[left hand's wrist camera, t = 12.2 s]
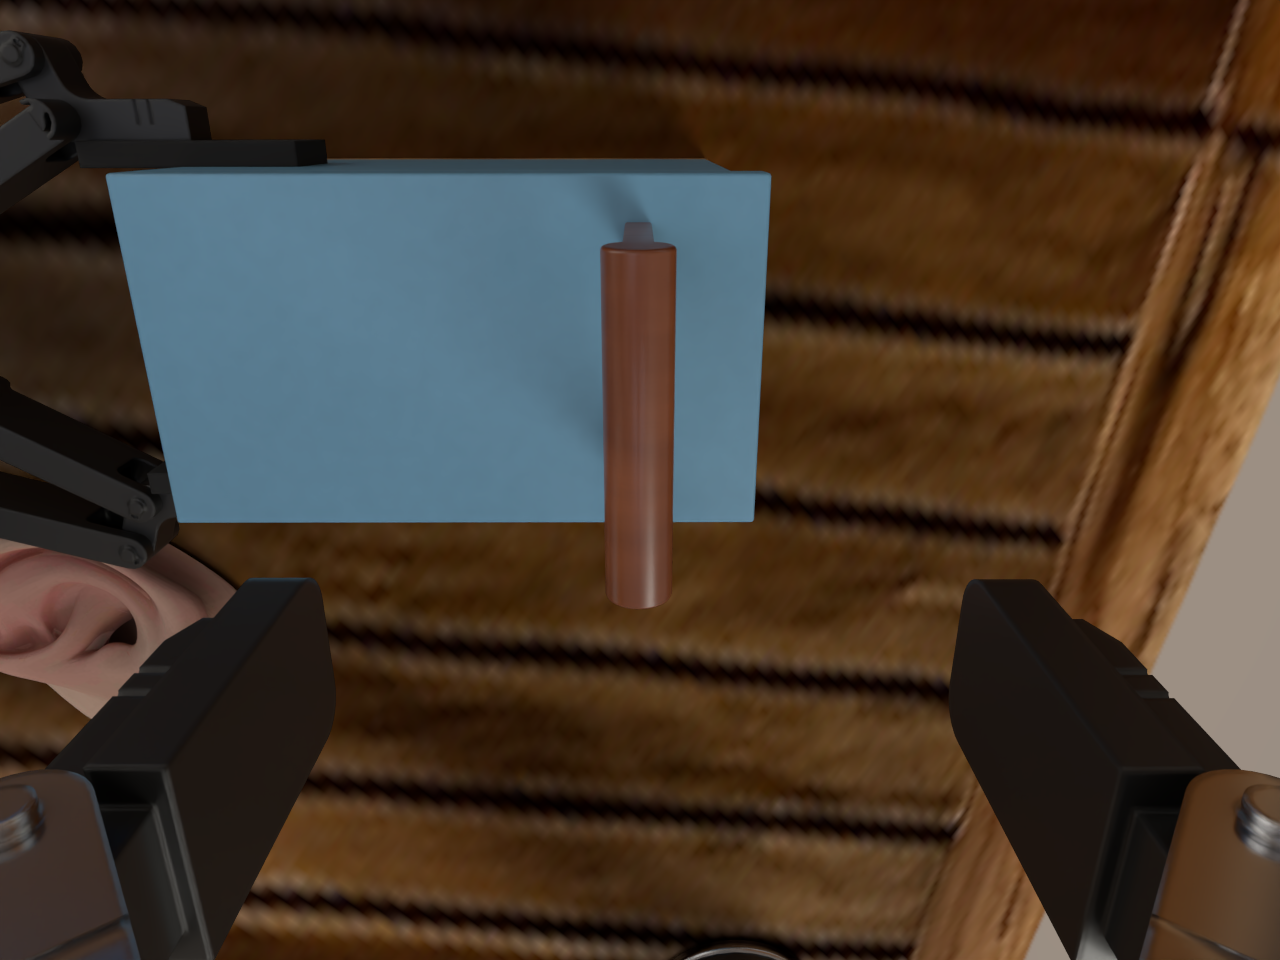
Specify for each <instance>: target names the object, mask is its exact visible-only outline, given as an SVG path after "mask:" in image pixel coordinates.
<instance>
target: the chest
mask: <svg viewBox="0 0 1280 960" xmlns="http://www.w3.org/2000/svg"><path fill="white" fill-rule="evenodd" d="M327 162H328V164H319V165H310V166H301V167H176V168H164V169H152V170H140V171H729V170H727V169H725V168H723V167H721V166H719V165H716V164H714V163H712V162H710V161H708V160H707V159H706V158H327Z"/></svg>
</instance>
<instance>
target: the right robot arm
mask: <svg viewBox="0 0 1280 960" xmlns="http://www.w3.org/2000/svg"><path fill="white" fill-rule="evenodd" d="M82 64H83V62H82V58H81V54H80V53H79V51H78V50H77V48H76V47H75V46H74V45H73V44H72V43H70V42H69V41H67V40H64V39H61V38H55V37H48V36H42V35H36V34H29V33H23V32H16V31H1V32H0V104H1V103H4V102H7V101H10V100H13V99H16V98H19V97H22V96H26V98H25V99H22V100H20V103H21V104H24V105H30V106H29V107H27V108H26V109H25V110H23V111H22V112H20V113H19V114H18V115H16V116H15V117H13V118H12V119H11V120H9V121H8V122H6V123H5V124H4V125H2V126H1V127H0V214H1V213H3V212H4V211H6V210H7V209H9V208H10V207H12V206H13V205H14V204H16V203H17V202H19V201H20V200H22V199H23V198H25V197H26V196H27V195H29V194H30V193H32V192H33V191H35V190H36V189H38V188H39V187H40V186H42V185H43V184H45V183H46V182H48V181H49V180H51V179H52V178H53V177H55V176H56V175H58V174H59V173H61V172H62V171H64V170H65V169H67V168H68V167H69V166H71V165H72V164H74V163H75V162H77V161H78V160H79V164H80V168H176V167H301V166H310V165H319V164H328V162H327V154H326V146H325V140H212V139H211V133H210V127H209V121H208V115H207V109H206V107H204V106H202V105H199V104H197V103H194V102H192V101H189V100H175V99H105V98H103V97H101V96H99V95H98V94H96V93H95V92H94V91H93V90H92V89H91V87H90V86H89V84H88V83H87V81H86V80H85V78H84V76H83V74H82V72H81V71H82ZM0 460H1V461H3V462H6V463H8V464H10V465H12V466H14V467H16V468H19V469H21V470H23V471H25V472H27V473H30V474H32V475H34V476H36V477H38V478H40V479H43V480H45V481H47V482H49V483H51V484H49V483H45V482H41V481H37V480H33V479H29V478H25V477H20V476H16V475H12V474H8V473H4V472H0V538H1V539H5V540H10V541H14V542H18V543H22V544H27V545H31V546H35V547H39V548H43V549H48V550H52V551H56V552H60V553H65V554H69V555H73V556H77V557H81V558H86V559H90V560H94V561H98V562H103V563H107V564H111V565H115V566H119V567H124V568H128V569H137V568H140V567H142V566H143V565H144V564H145V563H146V562H147V561H148V560H150V559H151V558H152V557H153V556H154V555H156V554H157V553H158V552H159V551H160V550H161V549H162V548H164V547H165V546H166V545H167V544H168V543H169V542H170V541H171V540H172V539H173V538H175V537H176V536H177V535H178V532H179V524H178V522H177V520H176V517H177V515H176V510H175V505H174V500H173V496H172V491H171V486H170V481H169V476H168V472H167V467H166V462H165V461H164V462H163V461H161V460H159V459H157V458H154V457H152V456H150V455H148V454H146V453H144V452H142V451H140V450H138V449H136V448H133V447H131V446H129V445H127V444H125V443H123V442H121V441H119V440H117V439H115V438H112V437H110V436H108V435H106V434H104V433H102V432H100V431H98V430H96V429H93V428H91V427H89V426H87V425H85V424H83V423H81V422H79V421H77V420H75V419H72V418H70V417H68V416H66V415H64V414H62V413H60V412H58V411H56V410H54V409H51V408H49V407H47V406H45V405H43V404H41V403H39V402H37V401H35V400H33V399H30V398H28V397H26V396H24V395H22V394H20V393H18V392H16V391H14V390H12V389H11V388H10V382H9V381H8V380H7V379H5V378H3V377H1V376H0Z"/></svg>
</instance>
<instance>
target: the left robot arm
mask: <svg viewBox="0 0 1280 960" xmlns="http://www.w3.org/2000/svg"><path fill="white" fill-rule="evenodd" d="M335 704H336V688H335V680H334V673H333V666H332V660H331V653H330V646H329V639H328V633H327V626H326V619H325V613H324V606H323V599H322V594H321V591H320V588H319V585H318V583H317V582H316V581H315V580H314V579H312V578H250V579H248V580H246V581H245V582H244V583H243V584H242V586H241V587H240V588H239V589H238V590H237V591H236V592H235V594H234V595H233V596H232V597H231V598H230V599H229V601H228V602H227V603H226V604H225V605H224V606H223V607H222V609H221V610H220V611H219V612H218V613H217V614H216V615H215V617H214V618H201V619H200V620H198V621H196V622H195V623H193V624H191V625H190V626H188V627H186V628H185V629H183V630H181V631H180V632H178V633H176V634H175V635H173V636H171V637H169V638H168V639H166V640H164V641H163V642H162V644H161V645H160V646H159V647H158V648H157V649H156V650H155V651H154V652H153V653H152V654H151V655H150V657H149V658H148V659H147V660H146V661H145V662H144V663H143V664H142V665H141V666H140V667H139V673H134V674H133V675H132V676H131V677H130V678H129V679H128V680H127V681H126V682H125V683H124V685H123V686H122V687H121V688H120V689H119V690H118V696H112V697H111V699H110V700H109V701H108V702H107V703H106V704H105V705H104V706H103V707H102V708H101V709H100V710H99V711H98V713H97V714H96V715H95V716H94V717H93V718H92V719H91V720H90V721H89V722H88V723H87V724H86V725H85V727H84V728H83V729H82V730H81V731H80V732H79V733H78V734H77V735H76V736H75V737H74V738H73V739H72V741H71V742H70V743H69V744H68V745H67V746H66V747H65V748H64V749H63V750H62V751H61V752H60V753H59V755H58V756H57V757H56V758H55V759H54V760H53V761H52V762H51V763H50V764H49V765H48V766H47V767H46V769H44V770H34V771H27V772H22V773H18V774H13V775H9V776H6V777H3V778H0V960H215V958H216V956H217V954H218V952H219V950H220V948H221V946H222V944H223V942H224V940H225V938H226V936H227V934H228V932H229V930H230V928H231V927H232V925H233V923H234V921H235V919H236V917H237V915H238V913H239V911H240V909H241V907H242V905H243V903H244V901H245V899H246V897H247V895H248V893H249V891H250V889H251V887H252V885H253V884H254V882H255V880H256V878H257V876H258V874H259V872H260V870H261V868H262V866H263V864H264V862H265V860H266V858H267V856H268V854H269V852H270V850H271V848H272V846H273V844H274V843H275V841H276V839H277V837H278V835H279V833H280V831H281V829H282V827H283V825H284V823H285V821H286V819H287V817H288V815H289V813H290V811H291V809H292V807H293V805H294V803H295V801H296V800H297V798H298V796H299V794H300V792H301V790H302V788H303V786H304V784H305V782H306V780H307V778H308V776H309V774H310V772H311V770H312V768H313V766H314V764H315V762H316V760H317V758H318V757H319V755H320V753H321V751H322V749H323V747H324V745H325V743H326V741H327V739H328V737H329V734H330V731H331V728H332V724H333V720H334V714H335ZM949 711H950V718H951V723H952V727H953V731H954V734H955V737H956V739H957V741H958V743H959V745H960V747H961V749H962V751H963V753H964V755H965V757H966V759H967V760H968V762H969V764H970V766H971V768H972V770H973V772H974V774H975V776H976V778H977V780H978V782H979V784H980V786H981V788H982V789H983V791H984V793H985V795H986V797H987V799H988V801H989V803H990V805H991V807H992V809H993V811H994V813H995V815H996V816H997V818H998V820H999V822H1000V824H1001V826H1002V828H1003V830H1004V832H1005V834H1006V836H1007V838H1008V840H1009V842H1010V843H1011V845H1012V847H1013V849H1014V851H1015V853H1016V855H1017V857H1018V859H1019V861H1020V863H1021V865H1022V867H1023V869H1024V871H1025V872H1026V874H1027V876H1028V878H1029V880H1030V882H1031V884H1032V886H1033V888H1034V890H1035V892H1036V894H1037V896H1038V898H1039V899H1040V901H1041V903H1042V905H1043V907H1044V909H1045V911H1046V913H1047V915H1048V917H1049V919H1050V921H1051V923H1052V924H1053V926H1054V928H1055V930H1056V932H1057V934H1058V936H1059V938H1060V940H1061V942H1062V944H1063V946H1064V948H1065V950H1066V952H1067V954H1068V955H1069V957H1070V959H1071V960H1280V778H1277V777H1274V776H1271V775H1267V774H1262V773H1258V772H1253V771H1245V770H1241V769H1240V768H1239V767H1238V766H1237V765H1236V764H1235V763H1234V762H1233V761H1232V760H1231V759H1230V757H1229V756H1228V755H1227V754H1226V753H1225V752H1224V751H1223V750H1222V749H1221V748H1220V747H1219V746H1218V745H1217V744H1216V743H1215V741H1214V740H1213V739H1212V738H1211V737H1210V736H1209V735H1208V734H1207V733H1206V732H1205V731H1204V730H1203V729H1202V728H1201V726H1200V725H1199V724H1198V723H1197V722H1196V721H1195V720H1194V719H1193V718H1192V717H1191V716H1190V715H1189V714H1188V713H1187V712H1186V710H1185V709H1184V708H1183V707H1182V706H1181V705H1180V704H1179V703H1178V702H1177V701H1176V700H1175V699H1174V698H1169V696H1168V691H1167V690H1166V689H1165V688H1164V687H1163V686H1162V685H1161V684H1160V683H1159V682H1158V681H1157V680H1156V678H1155V677H1154V676H1153V675H1148V674H1147V669H1146V668H1145V667H1144V666H1143V665H1142V663H1141V662H1140V661H1139V660H1138V659H1137V658H1136V657H1135V656H1134V655H1133V654H1132V653H1131V652H1130V651H1129V650H1128V649H1127V647H1126V646H1125V645H1124V644H1123V643H1122V642H1120V641H1119V640H1117V639H1115V638H1114V637H1112V636H1110V635H1108V634H1107V633H1105V632H1103V631H1102V630H1100V629H1098V628H1097V627H1095V626H1093V625H1092V624H1090V623H1088V622H1087V621H1085V620H1083V619H1072V618H1071V617H1070V616H1069V615H1068V614H1067V613H1066V612H1065V610H1064V609H1063V608H1062V607H1061V606H1060V605H1059V604H1058V602H1057V601H1056V600H1055V599H1054V598H1053V597H1052V596H1051V594H1050V593H1049V592H1048V591H1047V590H1046V589H1045V588H1044V587H1043V585H1042V584H1041V583H1040V582H1038V581H1037V580H1033V579H974V580H971V581H970V582H969V583H968V585H967V587H966V589H965V592H964V595H963V600H962V606H961V613H960V620H959V626H958V633H957V640H956V646H955V653H954V659H953V666H952V673H951V679H950V686H949ZM673 960H797V959H795V958H794V957H793V956H791V955H790V954H788V953H786V952H785V951H783V950H781V949H778V948H776V947H773V946H771V945H768V944H764V943H760V942H755V941H747V940H724V941H716V942H711V943H707V944H703V945H700V946H697V947H694V948H692V949H690V950H687V951H685V952H684V953H682V954H680V955H678V956H677V957H675V958H674V959H673Z"/></svg>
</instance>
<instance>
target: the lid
mask: <svg viewBox="0 0 1280 960" xmlns="http://www.w3.org/2000/svg"><path fill="white" fill-rule="evenodd" d="M106 180H107V185H108V190H109V195H110V199H111V204H112V209H113V214H114V218H115V223H116V228H117V233H118V238H119V242H120V247H121V252H122V257H123V261H124V266H125V271H126V276H127V281H128V285H129V290H130V295H131V300H132V304H133V309H134V314H135V319H136V324H137V328H138V333H139V338H140V343H141V347H142V352H143V357H144V362H145V367H146V371H147V376H148V381H149V386H150V390H151V395H152V400H153V405H154V410H155V414H156V419H157V424H158V429H159V433H160V438H161V443H162V448H163V453H164V457H165V462H166V467H167V472H168V476H169V481H170V486H171V491H172V496H173V500H174V505H175V510H176V515H177V519H178V522H180V523H223V522H605V579H606V595H607V597H608V599H609V600H610V601H611V602H612V603H614V604H616V605H618V606H621V607H624V608H629V609H648V608H653V607H657V606H659V605H662V604H664V603H665V602H666V601H668V599H669V598H670V596H671V594H672V552H673V522H752V521H753V519H754V506H755V486H756V466H757V447H758V427H759V407H760V388H761V368H762V348H763V329H764V309H765V289H766V270H767V250H768V230H769V211H770V191H771V175H770V174H769V173H767V172H764V171H129V172H117V173H108V174H107V175H106Z"/></svg>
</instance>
